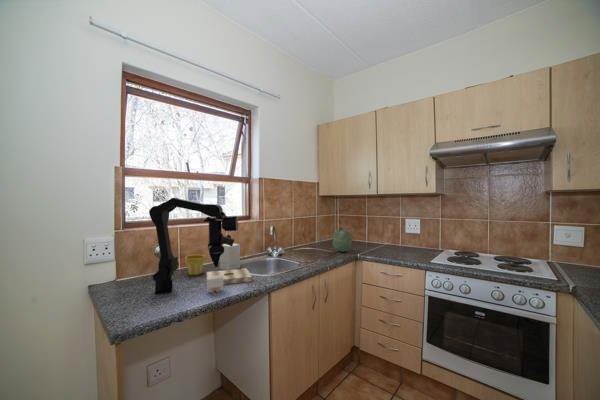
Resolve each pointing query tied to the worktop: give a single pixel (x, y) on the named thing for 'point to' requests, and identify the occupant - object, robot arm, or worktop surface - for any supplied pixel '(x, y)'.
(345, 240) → the cabbage
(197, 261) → the plant pot
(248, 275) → the socket board
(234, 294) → the worktop surface
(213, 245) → the robot arm
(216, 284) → the plug
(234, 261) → the supplement box
